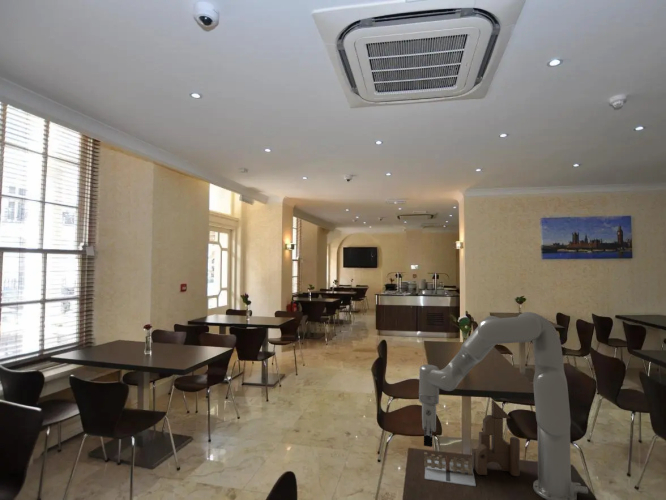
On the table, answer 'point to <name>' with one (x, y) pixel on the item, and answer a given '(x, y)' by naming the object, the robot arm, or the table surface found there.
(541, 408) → the robot arm
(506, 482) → the table surface
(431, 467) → the beige stepped wooden piece
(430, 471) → the card
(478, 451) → the wooden toy
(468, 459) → the fence fixed
